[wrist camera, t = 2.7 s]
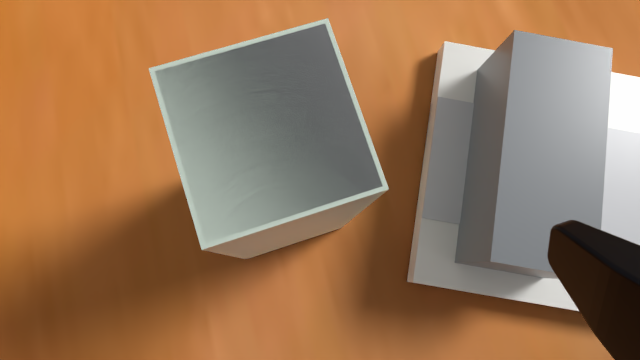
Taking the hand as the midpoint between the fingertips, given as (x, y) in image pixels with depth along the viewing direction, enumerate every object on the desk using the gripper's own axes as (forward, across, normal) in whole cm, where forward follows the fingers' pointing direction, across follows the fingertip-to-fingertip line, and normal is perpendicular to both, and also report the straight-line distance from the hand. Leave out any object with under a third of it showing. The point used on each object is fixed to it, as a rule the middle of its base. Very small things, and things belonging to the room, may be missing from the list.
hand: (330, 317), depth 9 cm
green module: (+10, 0, +5) cm, 11 cm away
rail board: (+7, -14, +8) cm, 18 cm away
